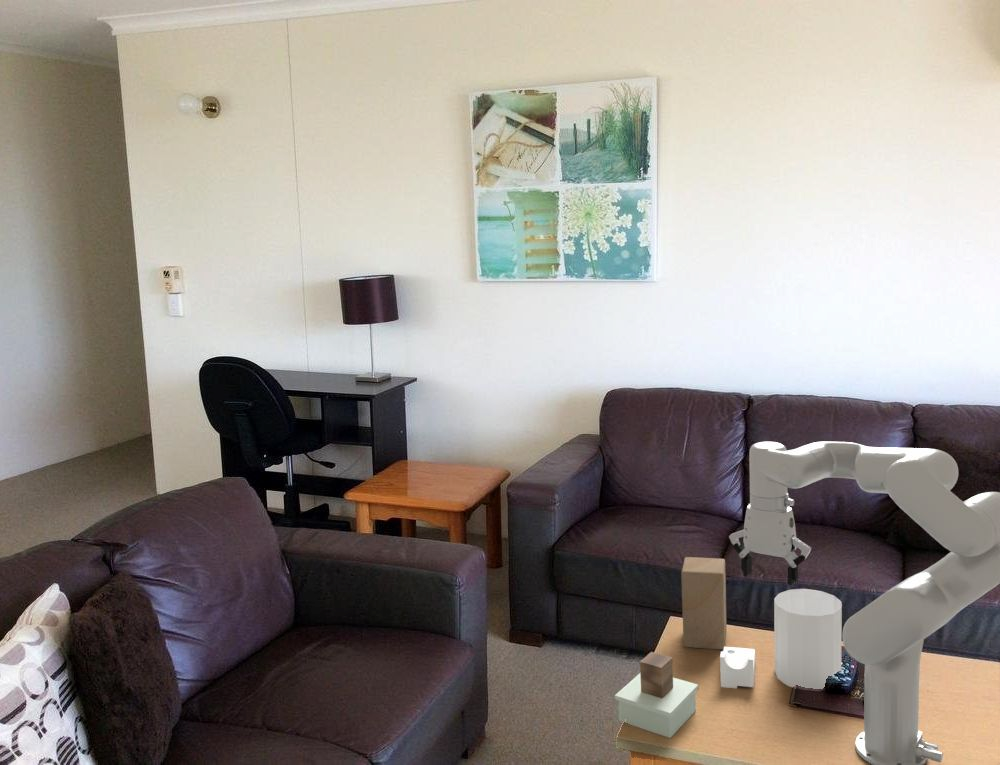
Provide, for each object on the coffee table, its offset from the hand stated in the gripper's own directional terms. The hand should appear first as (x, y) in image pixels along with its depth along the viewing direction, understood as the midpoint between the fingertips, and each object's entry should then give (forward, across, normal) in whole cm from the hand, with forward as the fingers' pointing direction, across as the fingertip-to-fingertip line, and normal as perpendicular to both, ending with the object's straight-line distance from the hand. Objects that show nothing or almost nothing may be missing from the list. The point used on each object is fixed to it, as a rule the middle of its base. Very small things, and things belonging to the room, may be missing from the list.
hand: (769, 578), depth 184 cm
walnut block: (+22, +18, +18) cm, 34 cm away
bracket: (+29, +10, -7) cm, 31 cm away
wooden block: (+28, +24, -19) cm, 42 cm away
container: (+29, -3, -15) cm, 33 cm away
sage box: (+28, +18, +18) cm, 38 cm away
